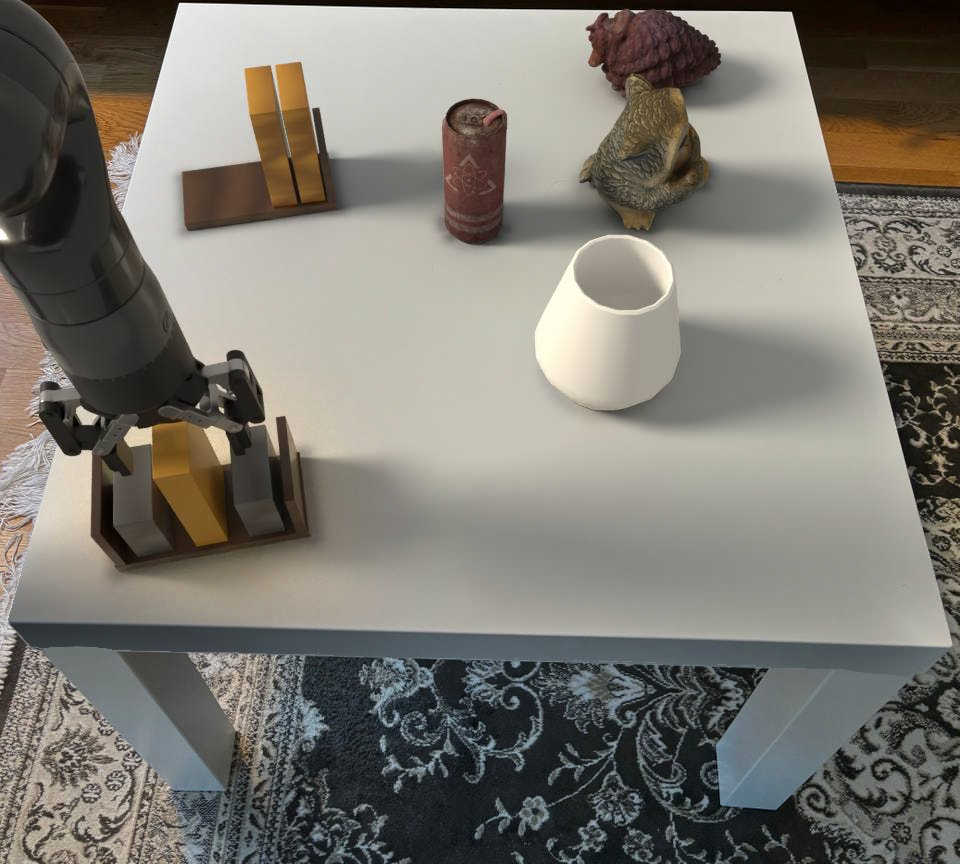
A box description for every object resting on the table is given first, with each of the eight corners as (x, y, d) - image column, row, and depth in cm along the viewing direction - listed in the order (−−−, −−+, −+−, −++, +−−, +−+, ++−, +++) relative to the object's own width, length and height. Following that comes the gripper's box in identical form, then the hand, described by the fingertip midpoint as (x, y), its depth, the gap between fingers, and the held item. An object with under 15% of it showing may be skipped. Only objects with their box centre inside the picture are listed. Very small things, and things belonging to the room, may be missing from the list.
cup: (542, 305, 89) (554, 202, 77) (676, 326, 88) (709, 225, 76) (520, 416, 82) (529, 322, 70) (665, 441, 81) (699, 350, 69)
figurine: (721, 248, 93) (761, 133, 80) (582, 246, 93) (600, 131, 80) (704, 155, 100) (738, 35, 88) (575, 153, 100) (591, 33, 87)
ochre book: (196, 546, 74) (152, 478, 64) (193, 474, 77) (151, 398, 67) (228, 541, 74) (189, 472, 64) (223, 469, 78) (186, 393, 67)
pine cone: (696, 43, 111) (744, 4, 101) (697, 122, 110) (746, 90, 101) (566, 21, 105) (604, -23, 96) (567, 104, 105) (605, 68, 95)
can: (515, 231, 94) (522, 123, 82) (463, 253, 92) (462, 147, 80) (485, 195, 97) (488, 86, 85) (434, 217, 95) (430, 108, 83)
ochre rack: (186, 230, 94) (148, 131, 82) (184, 178, 98) (147, 76, 87) (338, 209, 95) (320, 109, 84) (329, 158, 99) (311, 56, 88)
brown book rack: (118, 572, 74) (87, 537, 68) (118, 488, 78) (89, 448, 72) (311, 536, 76) (297, 499, 70) (301, 456, 80) (287, 415, 74)
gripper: (223, 263, 57) (272, 400, 71) (-6, 298, 56) (90, 431, 70) (231, 355, 54) (281, 481, 67) (-15, 396, 52) (89, 516, 66)
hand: (184, 455), depth 69 cm, fingers open, 8 cm apart
